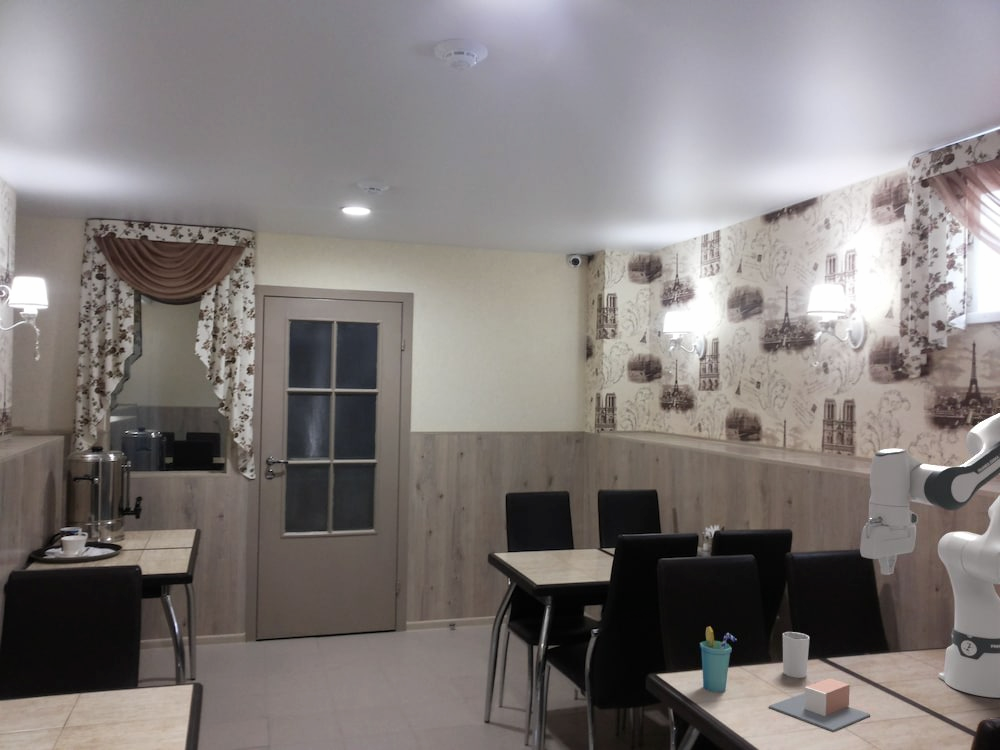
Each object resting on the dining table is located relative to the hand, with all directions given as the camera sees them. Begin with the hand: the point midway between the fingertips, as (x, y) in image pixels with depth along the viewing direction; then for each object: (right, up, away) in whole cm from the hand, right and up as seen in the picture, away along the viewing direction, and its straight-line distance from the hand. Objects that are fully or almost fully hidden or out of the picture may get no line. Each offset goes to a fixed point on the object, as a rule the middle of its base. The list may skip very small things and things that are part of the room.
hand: (887, 573), depth 196 cm
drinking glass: (-15, -31, +19) cm, 39 cm away
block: (-12, -28, -2) cm, 30 cm away
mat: (-19, -30, -7) cm, 36 cm away
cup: (-40, -30, +5) cm, 50 cm away
